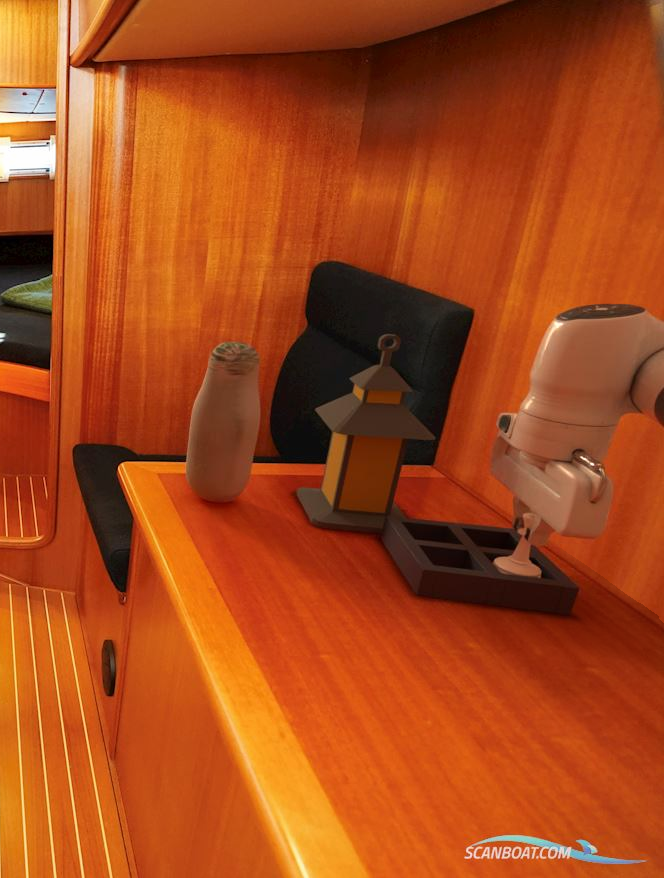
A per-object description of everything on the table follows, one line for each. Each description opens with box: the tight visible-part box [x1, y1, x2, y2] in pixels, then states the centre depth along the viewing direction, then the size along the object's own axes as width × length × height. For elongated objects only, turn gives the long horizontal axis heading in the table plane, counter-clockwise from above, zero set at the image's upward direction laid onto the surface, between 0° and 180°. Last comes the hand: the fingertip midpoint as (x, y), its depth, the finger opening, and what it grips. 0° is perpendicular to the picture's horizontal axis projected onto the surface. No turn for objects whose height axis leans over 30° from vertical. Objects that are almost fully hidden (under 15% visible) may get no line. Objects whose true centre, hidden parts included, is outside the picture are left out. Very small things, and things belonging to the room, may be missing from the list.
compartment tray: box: [379, 516, 580, 616], centre depth 97 cm, size 16×16×4 cm
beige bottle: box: [185, 341, 261, 504], centre depth 118 cm, size 10×10×28 cm
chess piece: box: [493, 509, 542, 578], centre depth 91 cm, size 5×5×10 cm
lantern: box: [296, 333, 436, 535], centre depth 111 cm, size 14×14×30 cm
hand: (527, 536), depth 91 cm, fingers closed on chess piece
